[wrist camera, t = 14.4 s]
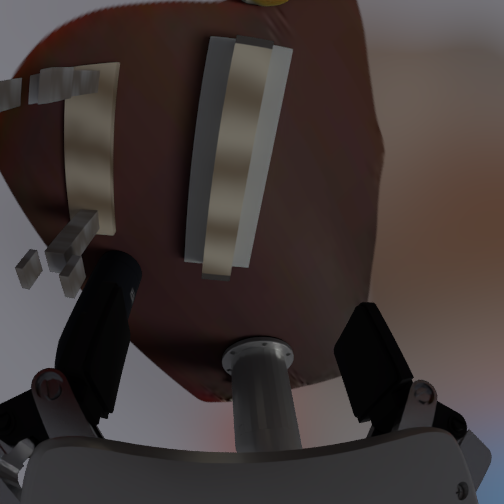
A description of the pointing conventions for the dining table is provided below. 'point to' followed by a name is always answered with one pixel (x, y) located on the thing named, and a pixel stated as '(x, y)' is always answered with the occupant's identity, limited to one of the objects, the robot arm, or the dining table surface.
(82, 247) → the rack
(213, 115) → the mat
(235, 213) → the rail
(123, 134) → the dining table surface
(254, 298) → the dining table surface
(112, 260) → the wine bottle
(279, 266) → the dining table surface
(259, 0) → the bread roll
